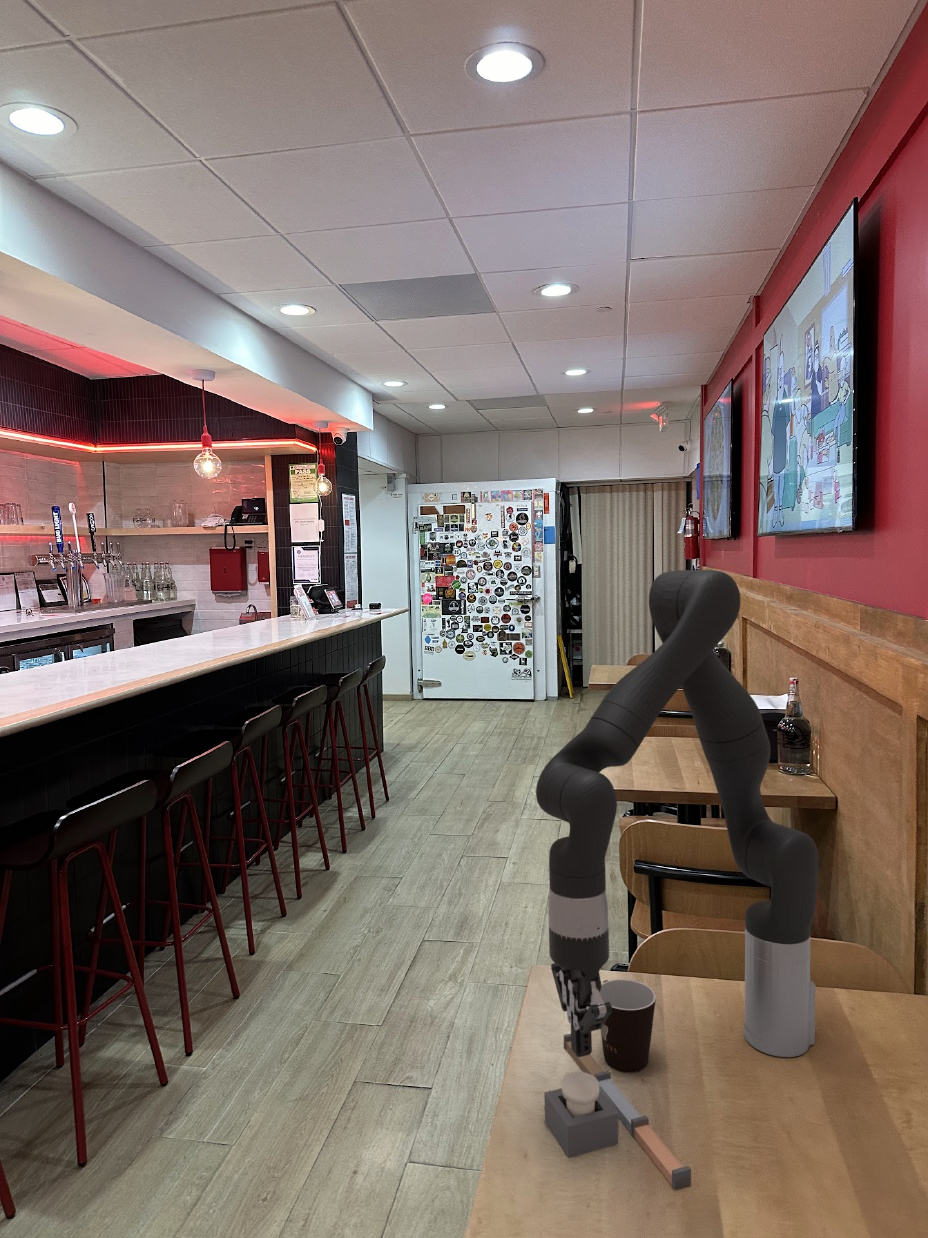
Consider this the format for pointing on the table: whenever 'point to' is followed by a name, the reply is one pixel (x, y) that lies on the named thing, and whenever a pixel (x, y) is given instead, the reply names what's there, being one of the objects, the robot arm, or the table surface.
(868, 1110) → the table surface
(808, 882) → the robot arm
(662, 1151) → the terracotta segment
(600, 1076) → the slate segment
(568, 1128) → the dome housing
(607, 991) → the coffee mug
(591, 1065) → the walnut segment
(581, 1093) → the dome plunger
